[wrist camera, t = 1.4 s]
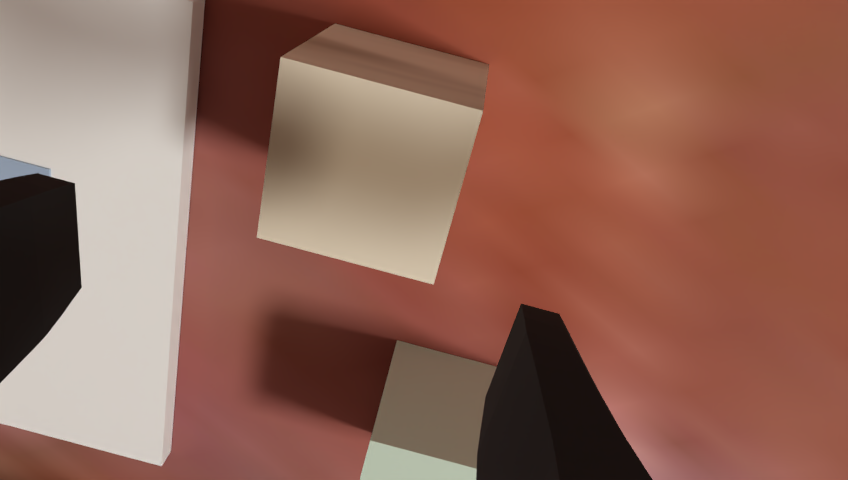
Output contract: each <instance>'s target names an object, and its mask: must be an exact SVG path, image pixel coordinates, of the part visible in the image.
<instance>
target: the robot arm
mask: <svg viewBox="0 0 848 480" xmlns="http://www.w3.org/2000/svg"><path fill="white" fill-rule="evenodd" d="M81 288H82V285H81V269H80V254H79V238H78V223H77V207H76V192H75V183H72V182H68V181H65V180H61V179H57V178H54V177H50V176H46V175H42V174H39V173H36V174H30V175H24V176H18V177H13V178H9V179H4V180H0V383H1V382H2V381H3V380H4V379H5V378H6V377H7V376H8V375H9V374H10V373H11V372H12V371H13V370H14V369H15V368H16V367H17V366H18V365H19V363H20V362H21V361H22V360H23V359H24V358H25V357H26V356H27V355H28V354H29V353H30V352H31V351H32V350H33V349H34V348H35V347H36V346H37V345H38V344H39V343H40V342H41V341H42V340H43V339H44V338H45V336H46V335H47V334H48V332H49V331H50V330H51V329H52V327H53V326H54V325H55V323H56V322H57V321H58V320H59V318H60V317H61V316H62V314H63V313H64V312H65V310H66V309H67V307H68V306H69V305H70V303H71V302H72V300H73V299H74V297H75V296H76V295H77V293H78V292H79V290H80V289H81ZM476 480H652V478H651V477H650V475H649V474H648V472H647V471H646V469H645V468H644V466H643V464H642V463H641V461H640V460H639V458H638V457H637V455H636V454H635V452H634V450H633V449H632V447H631V446H630V444H629V443H628V441H627V440H626V438H625V436H624V435H623V433H622V431H621V430H620V428H619V426H618V424H617V423H616V421H615V419H614V417H613V416H612V414H611V412H610V410H609V408H608V407H607V405H606V403H605V401H604V400H603V398H602V396H601V394H600V392H599V391H598V389H597V387H596V385H595V383H594V381H593V379H592V377H591V375H590V374H589V372H588V370H587V368H586V366H585V364H584V362H583V360H582V358H581V356H580V354H579V352H578V350H577V348H576V346H575V344H574V342H573V340H572V338H571V336H570V334H569V332H568V330H567V328H566V326H565V324H564V322H563V320H562V318H561V317H560V315H559V314H557V313H554V312H550V311H546V310H542V309H539V308H535V307H531V306H528V305H524V304H521V306H520V308H519V311H518V313H517V316H516V319H515V321H514V324H513V326H512V329H511V332H510V334H509V337H508V339H507V342H506V345H505V347H504V350H503V352H502V355H501V358H500V360H499V363H498V365H497V368H496V371H495V373H494V376H493V378H492V381H491V384H490V386H489V389H488V391H487V394H486V397H485V403H484V410H483V416H482V423H481V430H480V437H479V444H478V451H477V472H476Z"/></svg>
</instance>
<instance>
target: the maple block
mask: <svg viewBox="0 0 848 480" xmlns="http://www.w3.org/2000/svg"><path fill="white" fill-rule="evenodd" d="M488 69H489V64H485V63H481V62H477V61H474V60H470V59H466V58H463V57H459V56H455V55H451V54H448V53H444V52H440V51H436V50H433V49H429V48H425V47H421V46H418V45H414V44H410V43H406V42H403V41H399V40H395V39H391V38H388V37H384V36H380V35H376V34H373V33H369V32H365V31H361V30H358V29H354V28H350V27H346V26H343V25H339V24H333V25H332V26H330V27H328V28H327V29H325V30H324V31H322V32H320V33H319V34H317V35H315V36H314V37H312V38H311V39H309V40H307V41H306V42H304V43H302V44H301V45H299V46H298V47H296V48H294V49H293V50H291V51H289V52H288V53H286V54H285V55H283V56H281V58H280V65H279V73H278V80H277V88H276V96H275V103H274V111H273V118H272V126H271V134H270V141H269V149H268V156H267V164H266V172H265V179H264V187H263V194H262V202H261V210H260V217H259V225H258V232H257V238H261V239H264V240H268V241H272V242H276V243H279V244H283V245H287V246H291V247H294V248H298V249H302V250H306V251H309V252H313V253H317V254H321V255H325V256H328V257H332V258H336V259H340V260H343V261H347V262H351V263H355V264H358V265H362V266H366V267H370V268H373V269H377V270H381V271H385V272H388V273H392V274H396V275H400V276H403V277H407V278H411V279H415V280H418V281H422V282H426V283H430V284H433V285H434V281H435V278H436V274H437V271H438V267H439V264H440V260H441V257H442V253H443V250H444V246H445V242H446V239H447V235H448V232H449V228H450V225H451V221H452V218H453V214H454V211H455V207H456V204H457V200H458V197H459V193H460V190H461V186H462V183H463V179H464V176H465V172H466V169H467V165H468V162H469V158H470V155H471V151H472V148H473V144H474V141H475V137H476V134H477V130H478V127H479V123H480V120H481V116H482V113H483V108H484V100H485V92H486V85H487V77H488Z"/></svg>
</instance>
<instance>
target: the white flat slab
mask: <svg viewBox="0 0 848 480" xmlns="http://www.w3.org/2000/svg"><path fill="white" fill-rule="evenodd" d="M204 8H205V0H0V180H4V179H9V178H13V177H18V176H24V175H30V174H36V173H39V174H42V175H46V176H50V177H54V178H57V179H61V180H65V181H68V182H72V183H75V192H76V207H77V223H78V238H79V254H80V269H81V285H82V288H81V289H80V290H79V292H78V293H77V295H76V296H75V297H74V299H73V300H72V302H71V303H70V305H69V306H68V307H67V309H66V310H65V312H64V313H63V314H62V316H61V317H60V318H59V320H58V321H57V322H56V323H55V325H54V326H53V327H52V329H51V330H50V331H49V332H48V334H47V335H46V336H45V338H44V339H43V340H42V341H41V342H40V343H39V344H38V345H37V346H36V347H35V348H34V349H33V350H32V351H31V352H30V353H29V354H28V355H27V356H26V357H25V358H24V359H23V360H22V361H21V362H20V363H19V365H18V366H17V367H16V368H15V369H14V370H13V371H12V372H11V373H10V374H9V375H8V376H7V377H6V378H5V379H4V380H3V381H2V382H1V383H0V423H1V424H5V425H9V426H13V427H16V428H20V429H24V430H28V431H31V432H35V433H39V434H43V435H46V436H50V437H54V438H58V439H61V440H65V441H69V442H73V443H76V444H80V445H84V446H88V447H91V448H95V449H99V450H103V451H106V452H110V453H114V454H118V455H121V456H125V457H129V458H133V459H137V460H140V461H144V462H148V463H152V464H155V465H159V466H162V465H163V463H164V462H165V460H166V458H167V457H168V455H169V454H170V452H171V443H172V430H173V417H174V403H175V390H176V377H177V364H178V351H179V338H180V324H181V311H182V298H183V285H184V272H185V258H186V245H187V232H188V219H189V206H190V193H191V179H192V166H193V153H194V140H195V127H196V114H197V100H198V87H199V74H200V61H201V48H202V34H203V21H204Z"/></svg>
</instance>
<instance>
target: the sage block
mask: <svg viewBox="0 0 848 480" xmlns="http://www.w3.org/2000/svg"><path fill="white" fill-rule="evenodd" d="M496 368H497V367H496V366H492V365H488V364H485V363H481V362H477V361H473V360H470V359H466V358H462V357H458V356H455V355H451V354H447V353H443V352H440V351H436V350H432V349H428V348H425V347H421V346H417V345H413V344H410V343H406V342H402V341H398V340H397V342H396V346H395V350H394V353H393V357H392V361H391V365H390V368H389V372H388V376H387V379H386V383H385V387H384V391H383V394H382V398H381V402H380V406H379V409H378V413H377V417H376V421H375V424H374V428H373V432H372V436H371V439H370V443H369V447H368V451H367V454H366V458H365V462H364V466H363V469H362V473H361V477H360V480H476V472H477V451H478V444H479V437H480V430H481V423H482V416H483V410H484V403H485V397H486V394H487V391H488V389H489V386H490V384H491V381H492V378H493V376H494V373H495V371H496Z"/></svg>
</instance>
